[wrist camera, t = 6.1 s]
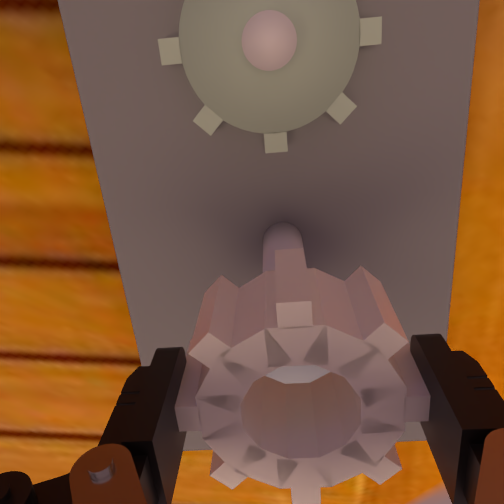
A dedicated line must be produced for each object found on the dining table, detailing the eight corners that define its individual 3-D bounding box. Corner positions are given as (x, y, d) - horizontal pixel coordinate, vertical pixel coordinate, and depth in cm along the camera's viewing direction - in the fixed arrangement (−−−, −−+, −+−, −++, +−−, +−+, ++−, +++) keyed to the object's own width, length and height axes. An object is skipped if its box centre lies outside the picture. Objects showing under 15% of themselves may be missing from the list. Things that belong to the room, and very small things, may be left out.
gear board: (58, -63, 18) (-12, -99, 14) (473, -112, 17) (548, -168, 13) (166, 432, 29) (147, 505, 24) (428, 420, 28) (460, 494, 23)
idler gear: (175, 256, 13) (151, 311, 11) (405, 240, 13) (442, 293, 10) (205, 428, 16) (191, 507, 13) (397, 420, 15) (425, 500, 13)
